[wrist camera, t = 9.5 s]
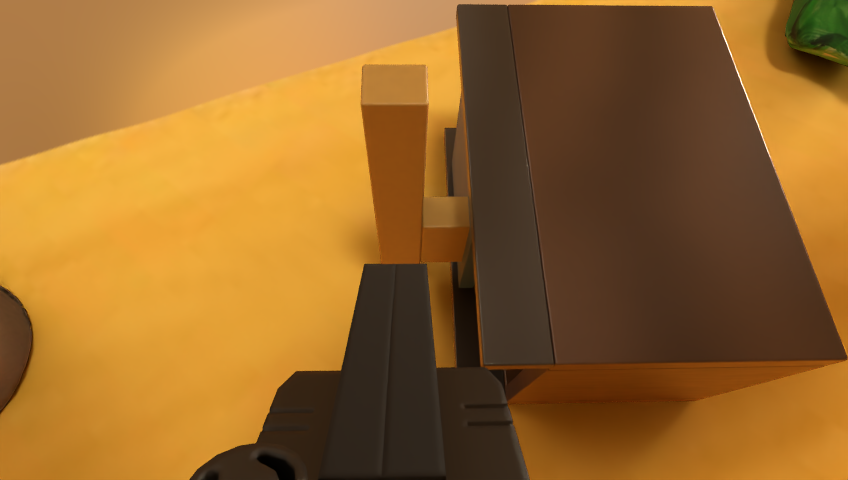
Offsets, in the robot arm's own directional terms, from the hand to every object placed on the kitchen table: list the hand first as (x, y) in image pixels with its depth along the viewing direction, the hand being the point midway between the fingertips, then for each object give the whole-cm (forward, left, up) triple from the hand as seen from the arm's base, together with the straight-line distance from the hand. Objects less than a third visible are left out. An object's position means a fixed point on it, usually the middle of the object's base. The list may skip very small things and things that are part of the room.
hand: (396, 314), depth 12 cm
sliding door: (-5, -8, -13) cm, 17 cm away
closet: (-11, -4, -15) cm, 19 cm away
